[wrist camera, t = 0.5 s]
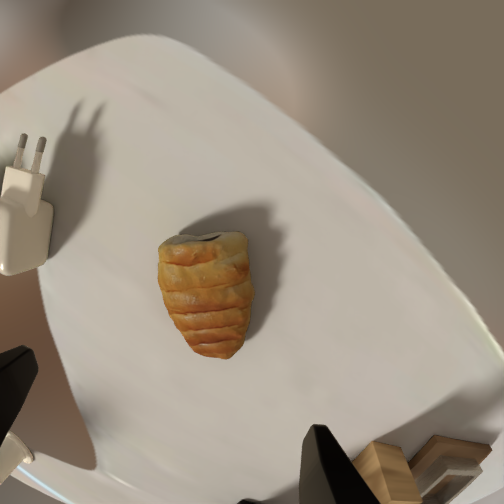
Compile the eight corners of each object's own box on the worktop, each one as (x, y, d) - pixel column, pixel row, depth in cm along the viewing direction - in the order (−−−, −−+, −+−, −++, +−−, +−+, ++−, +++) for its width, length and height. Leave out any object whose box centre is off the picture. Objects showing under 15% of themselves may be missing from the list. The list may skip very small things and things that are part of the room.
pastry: (264, 345, 23) (261, 371, 19) (182, 351, 24) (167, 374, 20) (247, 224, 22) (240, 229, 18) (158, 237, 22) (136, 244, 19)
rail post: (377, 470, 25) (393, 524, 17) (348, 465, 25) (360, 523, 17) (400, 447, 24) (422, 501, 16) (372, 440, 24) (391, 500, 16)
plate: (434, 498, 25) (436, 504, 24) (372, 495, 25) (374, 502, 24) (488, 444, 23) (492, 450, 22) (434, 434, 23) (438, 441, 22)
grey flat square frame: (435, 497, 24) (440, 509, 21) (396, 495, 24) (401, 510, 21) (475, 459, 22) (483, 471, 20) (440, 454, 22) (447, 469, 20)
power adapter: (41, 136, 22) (-3, 128, 16) (77, 143, 22) (31, 134, 16) (20, 251, 24) (-22, 263, 18) (53, 268, 24) (9, 283, 18)
